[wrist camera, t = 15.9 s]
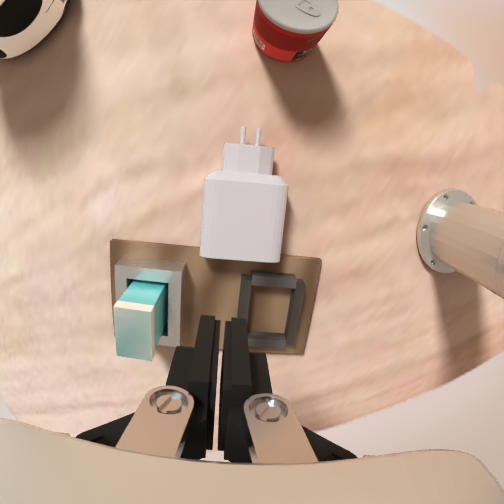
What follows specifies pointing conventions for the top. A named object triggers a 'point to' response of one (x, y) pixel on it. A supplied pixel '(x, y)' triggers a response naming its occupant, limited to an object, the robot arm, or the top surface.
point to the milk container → (27, 23)
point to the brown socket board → (238, 293)
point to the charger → (244, 205)
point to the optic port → (157, 272)
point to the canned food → (291, 26)
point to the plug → (140, 319)
